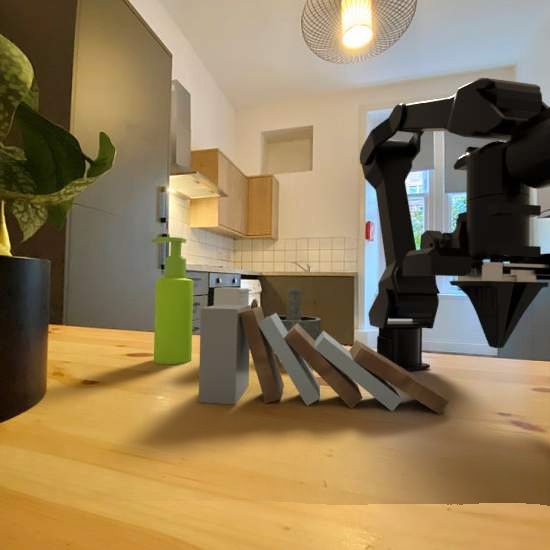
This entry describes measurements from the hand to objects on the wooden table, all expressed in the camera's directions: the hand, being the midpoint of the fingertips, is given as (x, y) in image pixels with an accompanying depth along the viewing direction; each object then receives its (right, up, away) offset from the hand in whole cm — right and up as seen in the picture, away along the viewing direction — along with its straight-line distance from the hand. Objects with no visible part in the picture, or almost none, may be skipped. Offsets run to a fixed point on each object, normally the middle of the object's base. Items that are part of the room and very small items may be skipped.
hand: (495, 347), depth 37 cm
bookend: (-29, -6, +3) cm, 30 cm away
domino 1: (-23, -6, +3) cm, 24 cm away
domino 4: (-11, -6, +1) cm, 12 cm away
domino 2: (-19, -6, +2) cm, 20 cm away
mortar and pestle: (-20, -7, +24) cm, 32 cm away
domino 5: (-6, -6, +1) cm, 8 cm away
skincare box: (-31, -7, +20) cm, 37 cm away
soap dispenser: (-40, -6, +20) cm, 46 cm away
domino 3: (-15, -6, +2) cm, 16 cm away
